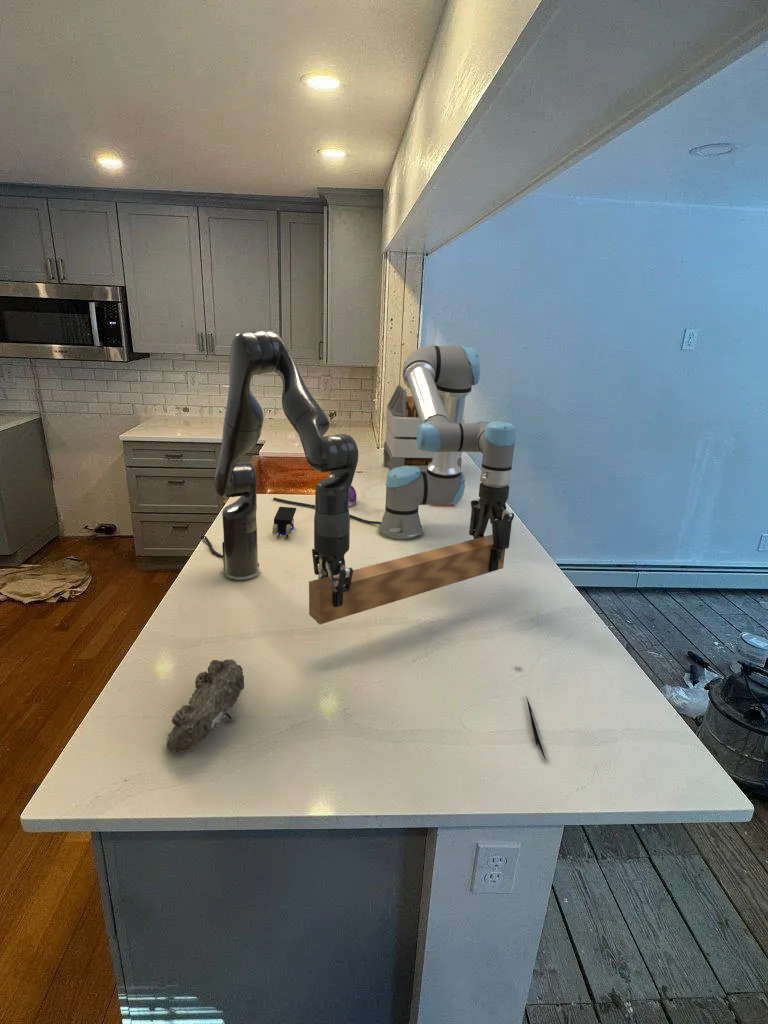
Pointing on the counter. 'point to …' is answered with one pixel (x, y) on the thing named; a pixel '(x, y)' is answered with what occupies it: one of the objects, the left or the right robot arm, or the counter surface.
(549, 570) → the counter surface
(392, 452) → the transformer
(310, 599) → the beam
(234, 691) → the fossil
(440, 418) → the right robot arm
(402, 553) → the counter surface
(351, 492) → the figurine
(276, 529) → the figurine character
